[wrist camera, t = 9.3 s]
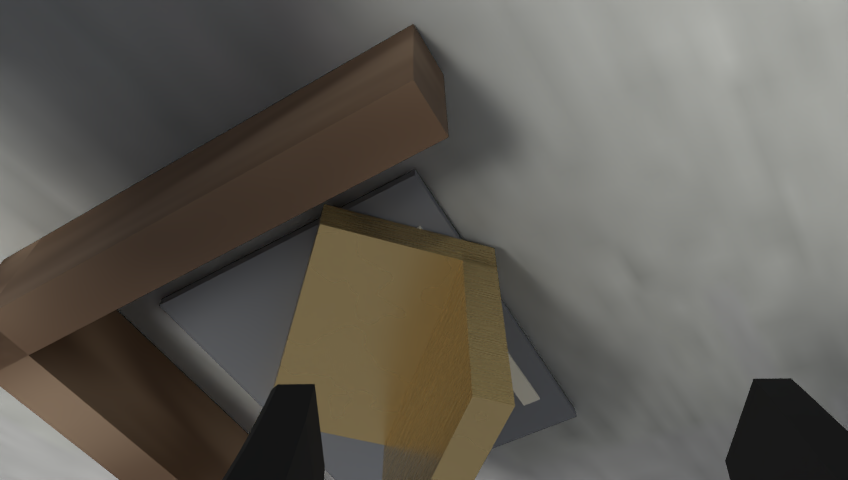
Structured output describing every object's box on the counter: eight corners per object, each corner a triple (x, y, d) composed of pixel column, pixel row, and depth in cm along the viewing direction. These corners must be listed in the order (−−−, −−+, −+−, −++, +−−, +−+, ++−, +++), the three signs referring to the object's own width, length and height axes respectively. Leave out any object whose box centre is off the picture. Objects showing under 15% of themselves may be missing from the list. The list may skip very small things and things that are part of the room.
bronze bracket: (413, 427, 26) (410, 594, 21) (270, 397, 25) (232, 564, 20) (494, 248, 21) (514, 405, 16) (323, 203, 20) (292, 355, 16)
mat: (162, 299, 23) (158, 307, 22) (415, 169, 20) (415, 176, 20) (356, 493, 28) (356, 502, 28) (574, 409, 26) (577, 418, 25)
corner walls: (4, 259, 22) (-59, 339, 19) (413, 24, 18) (413, 79, 15) (284, 511, 29) (270, 598, 26) (623, 379, 25) (651, 464, 22)
